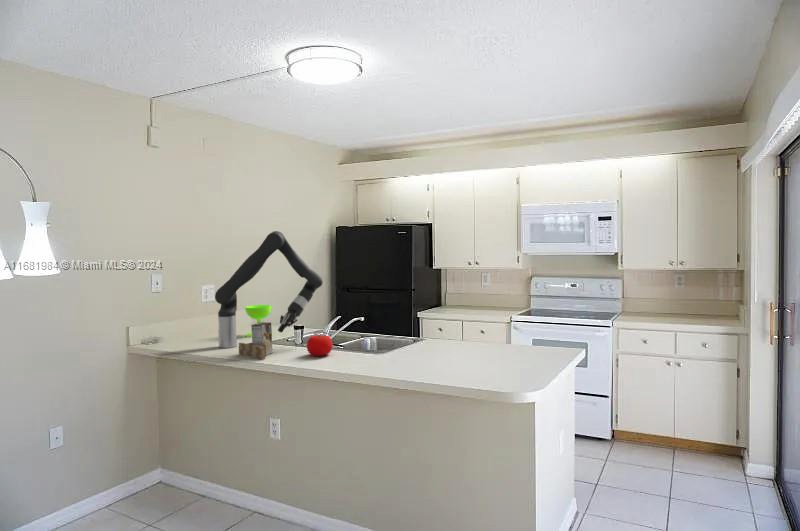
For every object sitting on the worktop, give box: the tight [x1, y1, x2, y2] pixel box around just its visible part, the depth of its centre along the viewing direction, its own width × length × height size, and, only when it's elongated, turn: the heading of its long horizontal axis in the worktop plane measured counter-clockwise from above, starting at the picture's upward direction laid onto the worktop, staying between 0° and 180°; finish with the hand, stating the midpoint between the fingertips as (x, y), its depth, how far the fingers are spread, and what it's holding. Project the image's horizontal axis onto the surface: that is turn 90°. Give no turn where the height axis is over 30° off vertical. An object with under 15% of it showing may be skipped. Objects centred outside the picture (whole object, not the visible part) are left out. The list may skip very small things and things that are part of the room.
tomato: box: [306, 334, 334, 357], centre depth 285 cm, size 14×13×10 cm
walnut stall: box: [238, 342, 267, 360], centre depth 287 cm, size 22×5×6 cm, turn 47°
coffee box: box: [251, 321, 273, 356], centre depth 290 cm, size 9×6×16 cm
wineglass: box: [244, 304, 272, 338], centre depth 353 cm, size 16×16×18 cm
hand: (279, 331), depth 297 cm, fingers closed
